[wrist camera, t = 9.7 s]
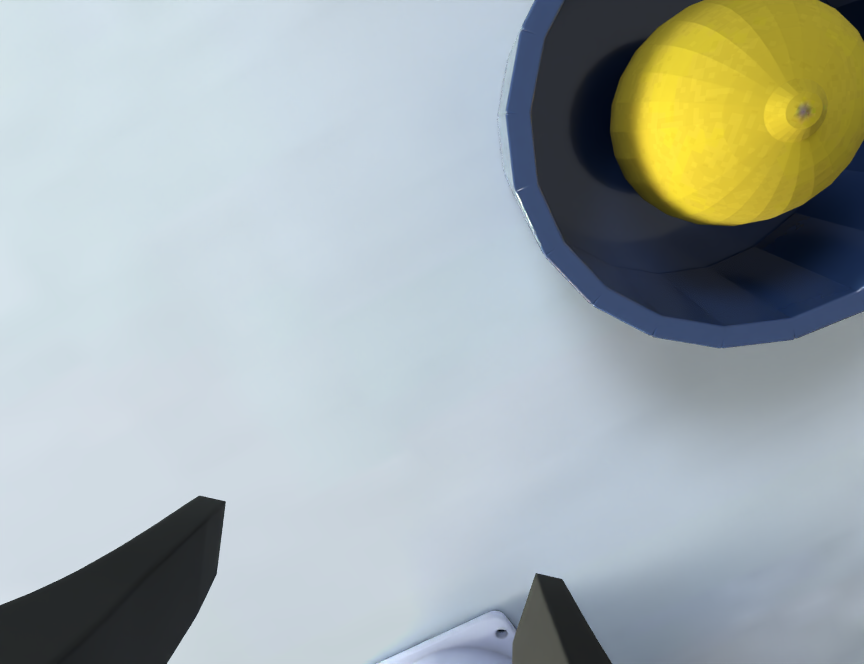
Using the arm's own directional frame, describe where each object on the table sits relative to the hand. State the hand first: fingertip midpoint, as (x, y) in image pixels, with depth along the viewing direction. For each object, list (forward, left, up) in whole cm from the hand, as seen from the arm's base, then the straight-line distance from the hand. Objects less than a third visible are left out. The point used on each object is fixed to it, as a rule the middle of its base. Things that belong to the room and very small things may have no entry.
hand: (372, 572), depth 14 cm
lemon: (+4, -12, -10) cm, 16 cm away
